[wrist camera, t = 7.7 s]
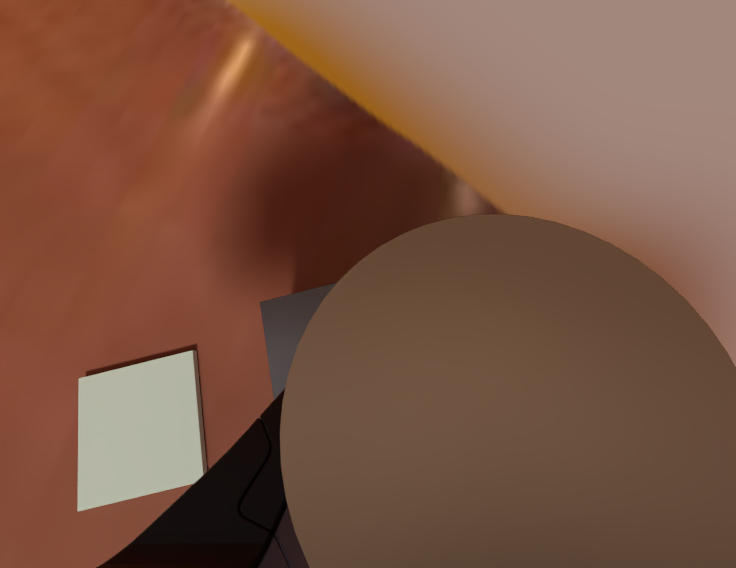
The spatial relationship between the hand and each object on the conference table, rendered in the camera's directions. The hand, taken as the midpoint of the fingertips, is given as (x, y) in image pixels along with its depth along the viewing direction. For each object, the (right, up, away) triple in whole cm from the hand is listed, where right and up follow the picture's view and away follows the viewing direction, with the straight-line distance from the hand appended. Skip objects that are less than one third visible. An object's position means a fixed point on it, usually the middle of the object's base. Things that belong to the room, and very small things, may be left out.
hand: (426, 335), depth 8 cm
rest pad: (-14, -7, +10) cm, 19 cm away
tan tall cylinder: (+1, -3, +6) cm, 6 cm away
